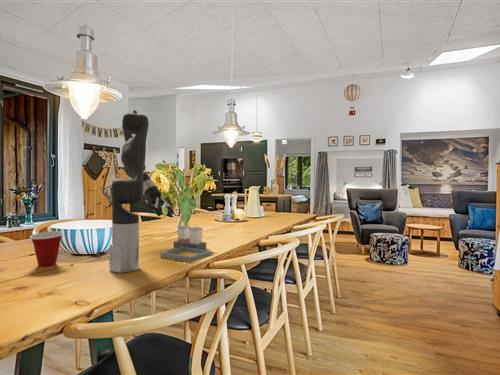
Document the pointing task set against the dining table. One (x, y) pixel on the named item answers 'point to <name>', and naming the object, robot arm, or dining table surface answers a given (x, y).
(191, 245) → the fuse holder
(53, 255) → the plastic cup
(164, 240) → the dining table surface
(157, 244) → the dining table surface
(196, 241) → the block
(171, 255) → the tray
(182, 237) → the block
